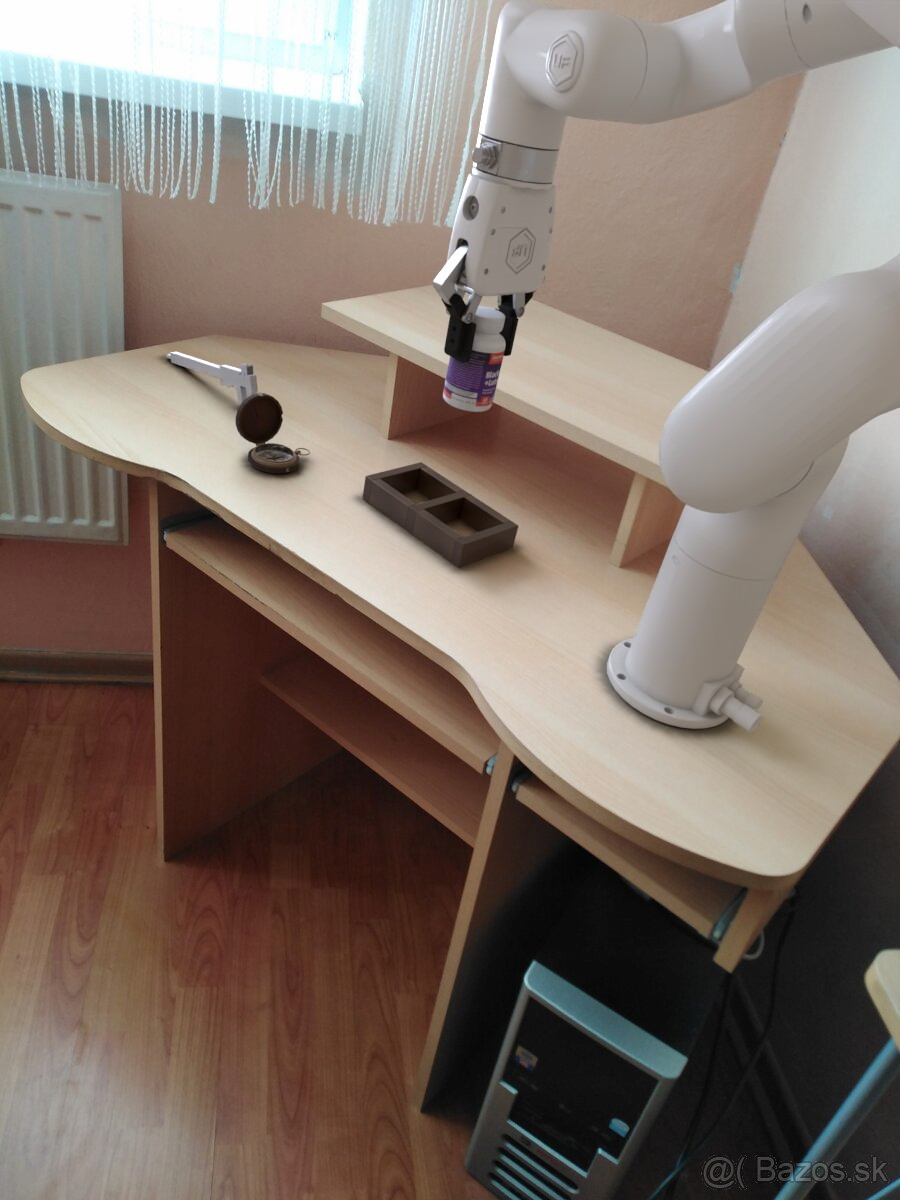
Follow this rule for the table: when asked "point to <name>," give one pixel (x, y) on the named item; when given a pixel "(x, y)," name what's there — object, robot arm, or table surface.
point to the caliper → (221, 373)
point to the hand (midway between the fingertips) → (477, 352)
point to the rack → (440, 513)
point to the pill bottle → (478, 365)
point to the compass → (265, 434)
